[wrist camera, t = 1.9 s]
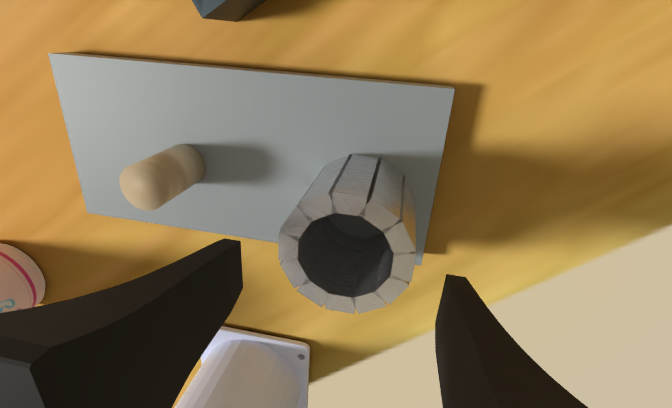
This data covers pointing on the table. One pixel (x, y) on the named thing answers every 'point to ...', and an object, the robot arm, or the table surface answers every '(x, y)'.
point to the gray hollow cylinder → (350, 251)
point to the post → (162, 176)
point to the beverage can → (19, 280)
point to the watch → (225, 8)
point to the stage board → (244, 137)
